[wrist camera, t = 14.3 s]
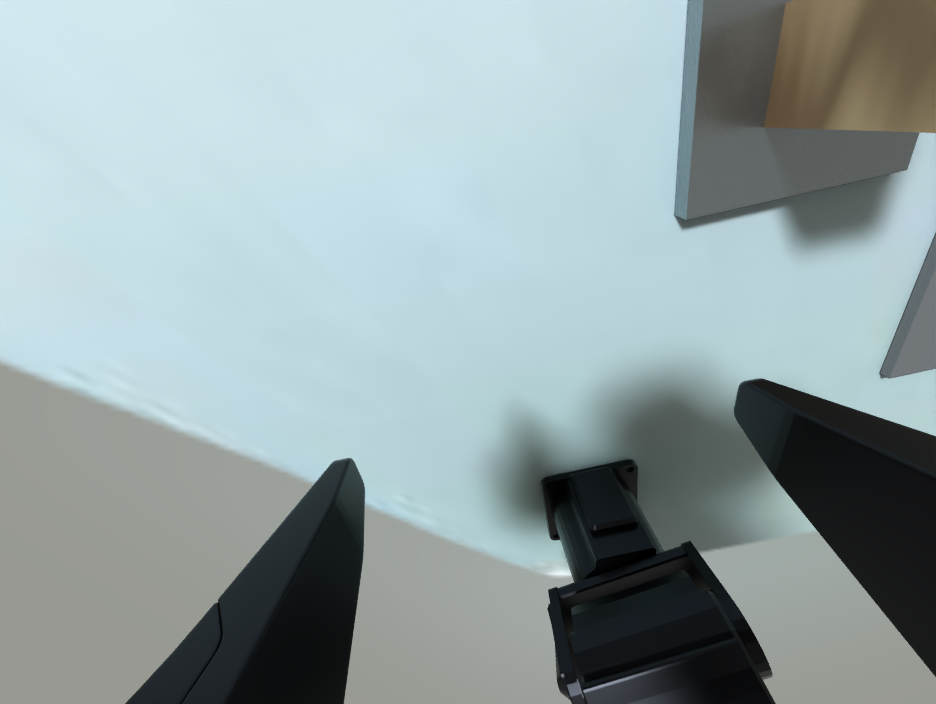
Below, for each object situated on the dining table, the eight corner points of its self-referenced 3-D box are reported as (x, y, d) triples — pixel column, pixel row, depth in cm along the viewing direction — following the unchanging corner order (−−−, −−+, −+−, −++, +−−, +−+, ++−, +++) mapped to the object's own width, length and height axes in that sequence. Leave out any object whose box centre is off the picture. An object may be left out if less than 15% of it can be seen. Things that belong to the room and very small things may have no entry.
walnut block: (860, 107, 17) (1109, 102, 10) (763, 127, 17) (956, 133, 11) (895, -21, 14) (1231, -119, 8) (785, 2, 15) (1040, -78, 9)
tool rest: (884, 167, 19) (906, 169, 18) (674, 215, 19) (686, 219, 18) (981, -146, 14) (1019, -163, 13) (693, -76, 14) (710, -88, 13)
